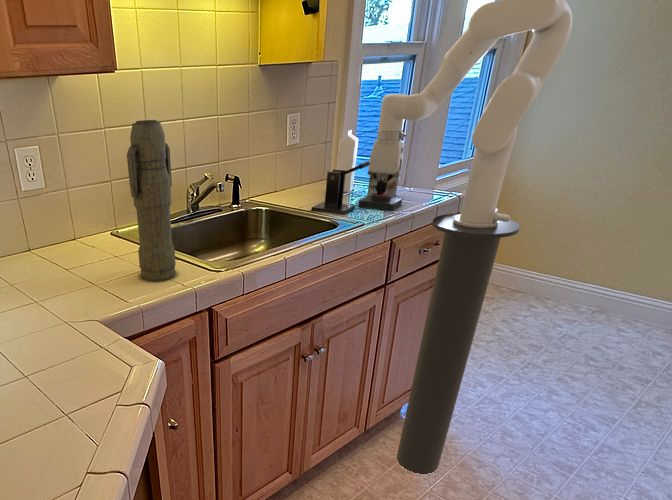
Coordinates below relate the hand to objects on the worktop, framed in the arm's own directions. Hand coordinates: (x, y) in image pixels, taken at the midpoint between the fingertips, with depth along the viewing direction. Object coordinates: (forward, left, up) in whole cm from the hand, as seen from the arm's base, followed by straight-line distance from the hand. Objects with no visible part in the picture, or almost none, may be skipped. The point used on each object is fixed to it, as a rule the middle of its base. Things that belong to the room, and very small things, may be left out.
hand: (380, 193), depth 173 cm
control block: (0, 0, -4) cm, 4 cm away
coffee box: (+5, -16, -4) cm, 17 cm away
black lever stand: (+12, +12, -4) cm, 17 cm away
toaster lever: (+7, +12, +8) cm, 16 cm away
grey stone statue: (+22, +93, -4) cm, 96 cm away
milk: (+21, -18, -4) cm, 28 cm away
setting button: (0, 0, -2) cm, 2 cm away
